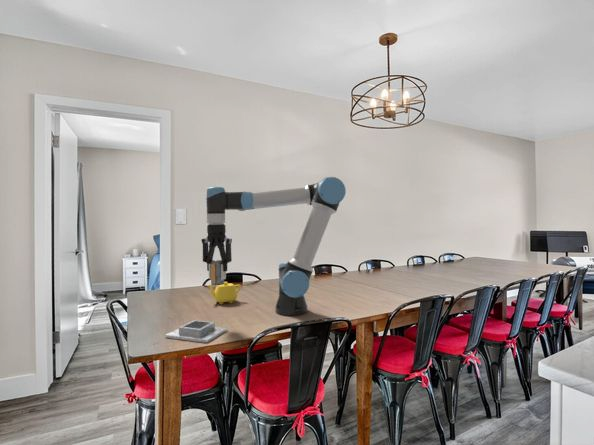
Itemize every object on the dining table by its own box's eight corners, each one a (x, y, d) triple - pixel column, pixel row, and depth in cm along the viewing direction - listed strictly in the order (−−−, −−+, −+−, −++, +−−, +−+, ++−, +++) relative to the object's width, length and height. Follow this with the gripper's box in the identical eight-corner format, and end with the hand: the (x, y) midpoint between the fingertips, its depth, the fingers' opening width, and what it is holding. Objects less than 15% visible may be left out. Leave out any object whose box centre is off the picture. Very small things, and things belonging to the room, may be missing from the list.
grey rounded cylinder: (226, 283, 141) (225, 260, 141) (218, 286, 136) (218, 261, 135) (215, 282, 143) (215, 259, 143) (207, 285, 137) (207, 261, 137)
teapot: (207, 306, 167) (207, 285, 167) (206, 301, 177) (205, 281, 177) (243, 303, 173) (243, 282, 173) (239, 298, 183) (239, 279, 183)
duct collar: (227, 330, 130) (227, 321, 130) (206, 343, 117) (206, 333, 117) (189, 326, 136) (188, 317, 136) (165, 337, 123) (165, 328, 123)
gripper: (239, 223, 140) (240, 278, 140) (203, 224, 146) (204, 276, 146) (230, 223, 133) (231, 281, 133) (192, 224, 139) (193, 279, 139)
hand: (217, 278), depth 139 cm, fingers closed on grey rounded cylinder, 5 cm apart
